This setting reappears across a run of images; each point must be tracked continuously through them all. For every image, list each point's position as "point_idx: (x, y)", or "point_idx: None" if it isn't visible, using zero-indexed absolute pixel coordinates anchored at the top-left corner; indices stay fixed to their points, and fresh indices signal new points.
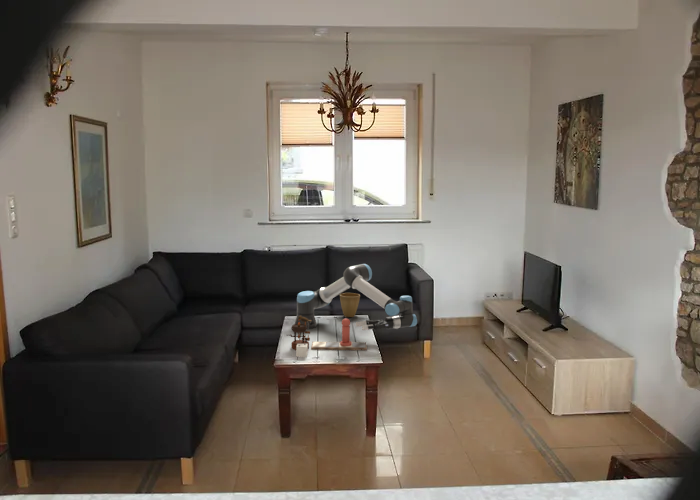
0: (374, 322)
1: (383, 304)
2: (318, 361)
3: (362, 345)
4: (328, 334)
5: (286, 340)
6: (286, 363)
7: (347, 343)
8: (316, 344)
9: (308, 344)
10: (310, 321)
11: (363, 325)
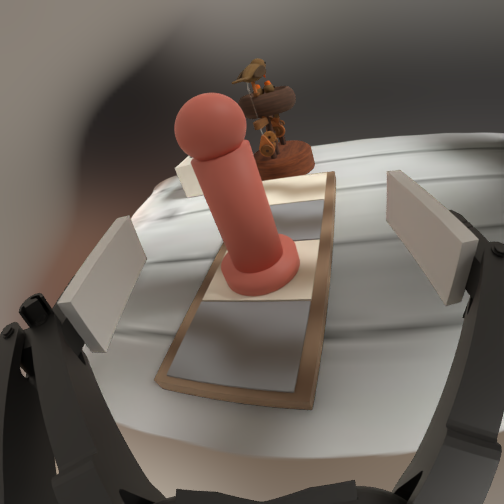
0: (445, 411)
1: None
2: (135, 225)
3: (212, 360)
4: (494, 201)
5: (368, 140)
6: (163, 184)
7: (226, 265)
8: (285, 184)
9: (267, 168)
10: (232, 83)
11: (119, 223)
